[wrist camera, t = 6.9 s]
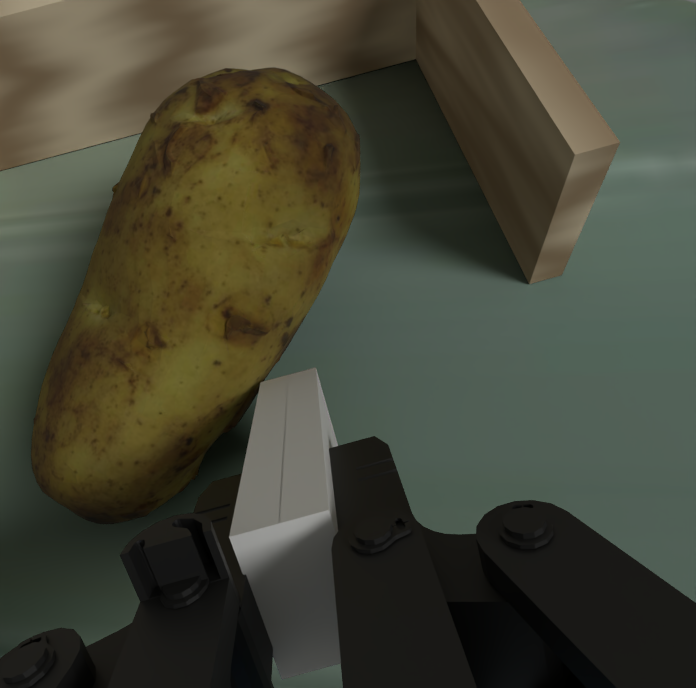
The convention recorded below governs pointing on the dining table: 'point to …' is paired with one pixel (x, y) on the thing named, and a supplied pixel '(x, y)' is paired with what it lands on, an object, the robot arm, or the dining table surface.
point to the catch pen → (319, 68)
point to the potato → (193, 286)
